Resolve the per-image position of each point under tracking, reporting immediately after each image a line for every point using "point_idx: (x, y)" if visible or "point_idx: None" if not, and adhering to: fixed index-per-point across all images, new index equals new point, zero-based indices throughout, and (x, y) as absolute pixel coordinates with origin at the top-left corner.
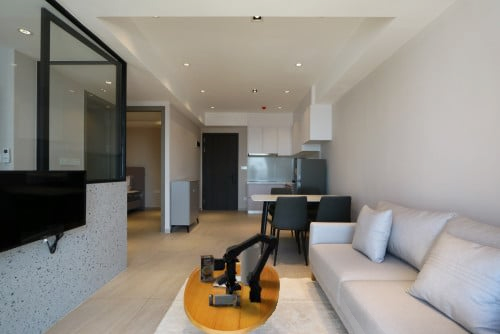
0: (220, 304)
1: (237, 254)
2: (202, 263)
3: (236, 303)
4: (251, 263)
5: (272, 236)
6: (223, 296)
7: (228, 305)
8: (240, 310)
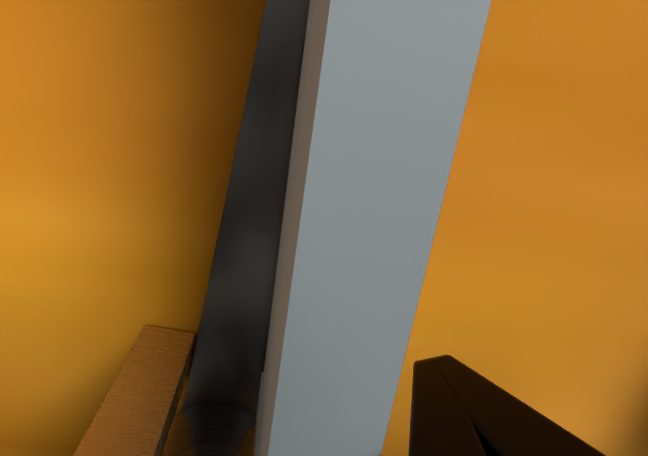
0: None
1: None
2: None
3: (198, 435)
4: None
5: None
6: (304, 164)
7: (231, 243)
8: (11, 444)
